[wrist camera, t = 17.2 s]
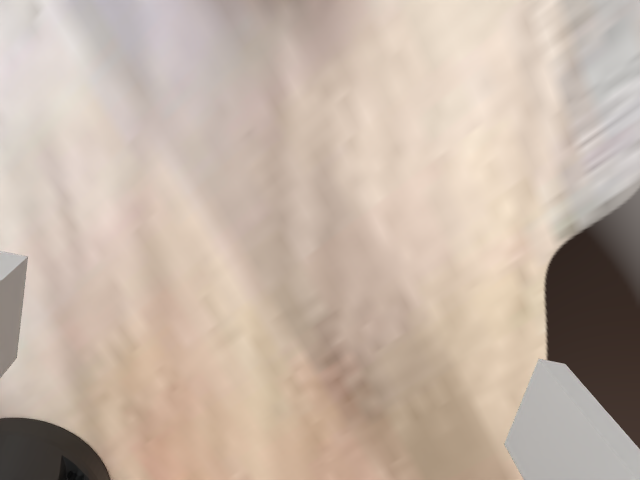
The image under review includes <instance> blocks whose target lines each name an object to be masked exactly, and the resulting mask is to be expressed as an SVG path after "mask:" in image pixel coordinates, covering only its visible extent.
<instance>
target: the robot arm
mask: <svg viewBox="0 0 640 480" xmlns="http://www.w3.org/2000/svg"><path fill="white" fill-rule="evenodd" d="M27 261H28V257H27V256H22V255H17V254H12V253H7V252H2V251H0V378H1V377H2V376H3V374H4V373H5V372H6V371H7V369H8V368H9V367H10V366H11V364H12V363H13V362H14V361H15V359H16V358H17V350H18V341H19V332H20V323H21V314H22V305H23V297H24V288H25V279H26V270H27ZM504 445H505V447H506V448H507V450H508V452H509V454H510V456H511V457H512V459H513V461H514V463H515V465H516V466H517V468H518V470H519V472H520V474H521V475H522V477H523V479H524V480H640V449H639V448H638V447H637V446H636V445H635V444H634V442H633V441H632V440H631V439H630V438H629V437H628V436H627V434H626V433H625V432H624V431H623V430H622V429H621V427H620V426H619V425H618V424H617V423H616V422H615V421H614V419H613V418H612V417H611V416H610V415H609V414H608V413H607V412H606V410H605V409H604V408H603V407H602V406H601V405H600V404H599V402H598V401H597V400H596V399H595V398H594V397H593V396H592V394H591V393H590V392H589V391H588V390H587V389H586V388H585V386H584V385H583V384H582V383H581V382H580V381H579V379H577V377H576V376H575V375H574V374H573V373H572V371H571V370H570V369H569V368H568V367H567V366H566V365H565V364H562V363H557V362H552V361H547V360H542V359H538V362H537V364H536V367H535V369H534V372H533V374H532V377H531V379H530V382H529V384H528V387H527V389H526V392H525V394H524V397H523V399H522V402H521V404H520V406H519V409H518V411H517V414H516V416H515V419H514V421H513V424H512V426H511V429H510V431H509V434H508V436H507V439H506V441H505V444H504ZM0 480H110V479H109V476H108V473H107V471H106V469H105V467H104V465H103V463H102V462H101V460H100V458H99V457H98V456H97V455H96V453H95V452H94V451H93V450H92V449H91V448H90V447H89V446H88V445H87V444H86V443H84V442H83V441H82V440H81V439H79V438H78V437H76V436H75V435H73V434H72V433H70V432H68V431H66V430H64V429H62V428H60V427H57V426H55V425H52V424H49V423H46V422H42V421H38V420H33V419H25V418H3V419H0Z"/></svg>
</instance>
